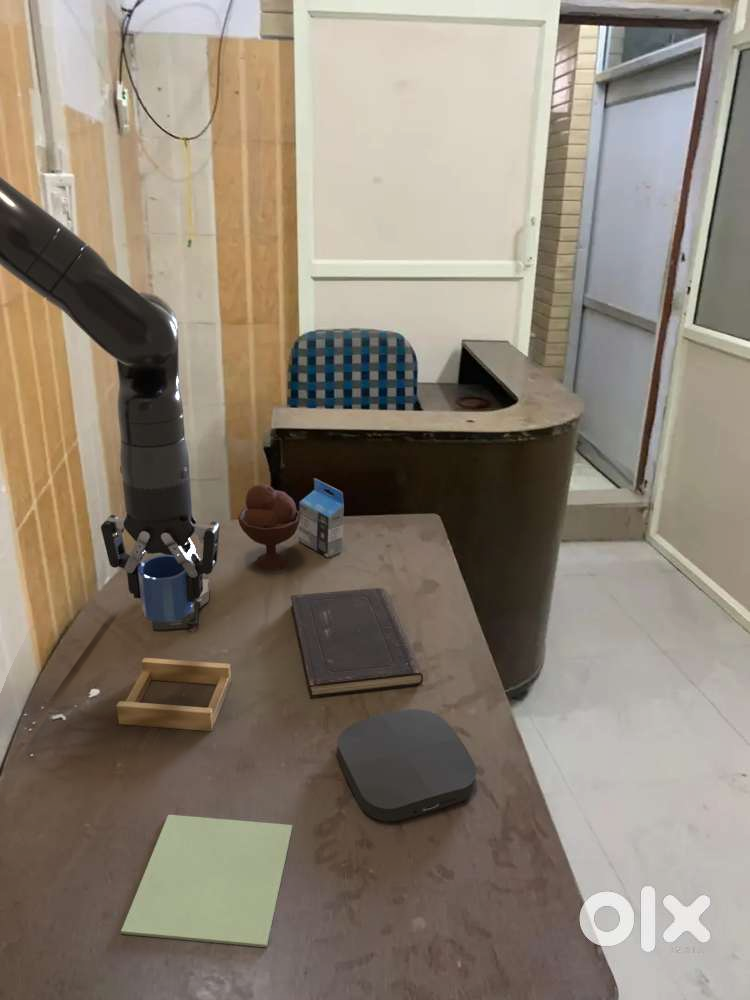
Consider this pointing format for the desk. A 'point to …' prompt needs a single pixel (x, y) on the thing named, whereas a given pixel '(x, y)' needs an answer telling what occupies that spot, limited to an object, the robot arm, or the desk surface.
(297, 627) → the hardcover book
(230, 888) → the mat
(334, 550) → the label tape box
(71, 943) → the desk surface
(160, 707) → the tray
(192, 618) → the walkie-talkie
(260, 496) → the ice cream bowl
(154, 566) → the small cup
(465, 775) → the media streaming box
